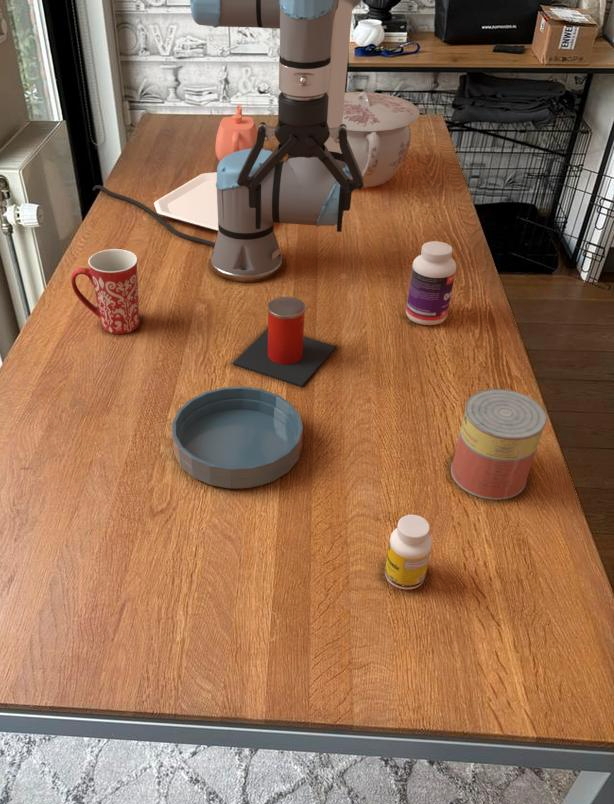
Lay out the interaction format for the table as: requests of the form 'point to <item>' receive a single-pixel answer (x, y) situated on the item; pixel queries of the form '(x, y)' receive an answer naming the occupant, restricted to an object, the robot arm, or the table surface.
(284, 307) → the tin can
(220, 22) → the robot arm
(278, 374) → the mat
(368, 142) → the chamber pot
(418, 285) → the pill bottle
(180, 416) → the dish
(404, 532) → the supplement bottle
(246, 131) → the teapot
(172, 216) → the plate
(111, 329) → the mug
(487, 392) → the canned food
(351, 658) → the table surface
